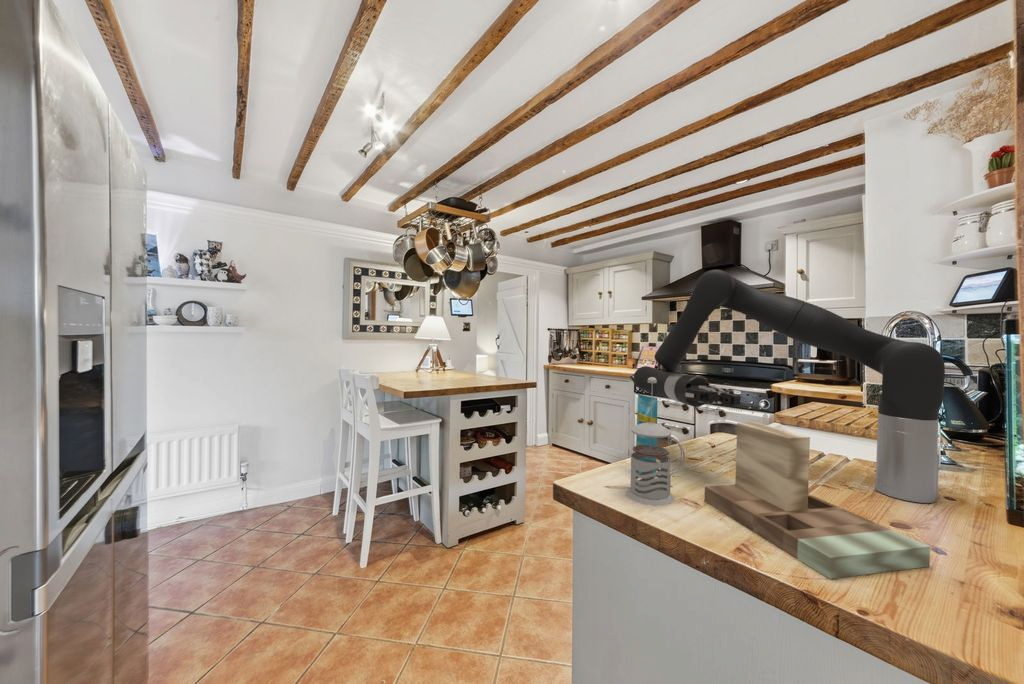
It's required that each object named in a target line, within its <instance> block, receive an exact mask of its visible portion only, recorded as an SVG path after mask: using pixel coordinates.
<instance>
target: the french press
mask: <svg viewBox="0 0 1024 684" xmlns="http://www.w3.org/2000/svg"><path fill="white" fill-rule="evenodd" d="M648 383H652V393H653V383H657V380H656V378H654V377H650V378H648ZM650 397H651V422H649V423H641V424H638V425H637V424H635V425H634V426H633V427H631V428H630V431H631V433H632V434H634V435H636V436H637V435H639V436H644V437H650V445H649V446H648V445H638V446H636V445H635V446H633V447H632V450H633V453H631V455H630V486H629V487H628V488H627V489H626V490H625V496H627V498H628V499H631V500H632V501H633V502H636V503H640V504H643V505H649V506H654V507H655V506H657V507H659V506H667V505H671V504H673V503H674V502H675V498H674V495H673V494H672V493H671V477H672V475H674V474H677V473H678V472H679V471H681V470H682V468H683V466H684V464H685V461H686V460H685V459H686V456H685V454H686V453H685V450H684V448H683V445H682V444H680V443H679V441H678V440H676V439H674V438H673V437H671V435H672V431H671V430H669V429H668V428H667V427H666V426H665V425H662V424H658V423H657V424H656V423H653V422H652V397H653V395H650ZM651 437H652V438H657V439H660V438H661V439H664V438H667V445H669V446H672V442H674V443H676V444H677V445H678V446H679V449H680V450H679V451H680V458H679V461H678V464H677V465H676V466H675V467H674V468H672V469H671V460H670V458H669V456H667V455H669V450H668V449H666V448H664V447H661V446H658V445H657V447H656V446H653V445H652V446H651ZM644 457H653V458H656V459H657V460H658V461H659V462H656V461H654V460H644V461H640V460H641V459H642V458H644ZM681 462H682V463H681ZM680 464H681V466H680ZM679 467H680V468H679ZM676 469H677V470H676ZM651 470H656V472H652V471H651ZM675 470H676V471H675ZM672 471H674V472H672ZM638 472H643V473H641V474H638ZM671 472H672V473H671ZM646 474H648V475H646ZM652 476H654V477H652ZM655 477H657V478H655Z"/></svg>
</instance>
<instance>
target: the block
mask: <svg viewBox="0 0 1024 684" xmlns="http://www.w3.org/2000/svg"><path fill="white" fill-rule="evenodd" d="M810 445H811V437H810V436H807V435H803V434H799V433H796V432H794V431H793V432H792V431H789V430H785V429H782V428H778V427H774V426H772V425H768V424H764V423H760V422H756V421H753V422H737V423H736V445H735V446H736V447H735V449H736V452H735V485H736V486H738V487H740V488H742V489H744V490H746V491H747V492H749V493H751V494H753V495H755V496H757V497H759V498H761V499H763V500H765V501H767V502H769V503H771V504H773V505H775V506H777V507H779V508H781V509H783V510H785V511H795V510H807V509H808V494H809V479H810V478H809V477H810V451H811V450H810Z"/></svg>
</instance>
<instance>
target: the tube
mask: <svg viewBox="0 0 1024 684" xmlns="http://www.w3.org/2000/svg"><path fill="white" fill-rule="evenodd" d="M636 413H637V414H636V425H638V424H641V423H649V422H651V396H649V395H644V394H640V393H637V412H636ZM652 422H653V423H656V424H658V397H654V396H652ZM635 441H636V443H635V446H638V445H648V446H649V445H650V437H644V436H639V435H636V440H635ZM657 443H658V438H652V437H651V446H652V445H653V446H656V447H658V444H657ZM644 460H654V461H656V462H657V460H658V459H656V458H653V457H644V458H642V459H641V460H640V461H644ZM651 471H652V472H657V471H656V470H651ZM641 473H643V472H638V474H641ZM646 475H648V474H646ZM652 478H655V476H652Z"/></svg>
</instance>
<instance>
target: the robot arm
mask: <svg viewBox="0 0 1024 684" xmlns="http://www.w3.org/2000/svg"><path fill="white" fill-rule="evenodd" d="M718 307H722V308H724V309H727V310H731V311H734V312H737V313H741V314H743V315H745V316H747V317H749V318H752V319H753V320H754V321H756V322H758V323H759V324H761V325H763V326H765V327H767V328H768V329H770V330H773V331H774V332H776V333H779V334H781V335H783V336H785V337H787V338H790V339H792V340H795V341H797V342H799V343H803V344H805V345H807V346H811V347H813V348H817V349H820V350H824V351H826V352H829V353H830V352H831V353H834V354H837V355H840V356H844V357H847V358H849V359H852V360H853V361H856V362H857V363H860V364H862V365H863V366H866V367H868V368H869V369H871V370H873V371H875V372H877V373H879V374H881V375H882V377H881V382H882V383H881V392H880V393H881V394H880V397H879V400H878V405H877V406H878V408H877V431H876V432H877V435H876V437H877V438H876V460H875V461H876V462H875V463H876V464H875V466H876V467H875V488H874V489H875V490H876V491H877V492H879V493H881V494H884V495H886V496H889V497H892V498H895V499H898V500H903V501H907V502H914V503H923V504H930V503H932V504H933V503H935V502H936V500H937V499H938V498H939V497H938V495H939V493H938V492H939V476H940V475H939V471H940V470H939V469H940V455H939V454H938V444H939V443H938V440H939V439H938V438H939V434H938V433H939V418H940V417H939V414H940V410H941V408H942V407H943V406H942V405H943V402H944V401H943V400H944V390H945V389H944V387H945V377H946V376H945V374H946V368H945V365H946V364H945V360H944V357H943V355H942V354H941V352H939V351H938V350H937V349H936V348H935V347H933V346H931V345H929V344H926V343H923V342H916V341H906V340H901V339H897V338H893V337H889V336H887V335H883V334H880V333H877V332H874V331H871V330H868V329H865V328H862V327H860V326H859V325H857V324H855V323H853V322H851V321H850V320H848V319H846V318H844V317H843V316H840V315H839V314H836V313H835V312H832V311H831V310H828V309H826V308H823V307H822V306H818V305H815V304H813V303H810V302H808V301H805V300H801V299H798V298H795V297H793V296H792V297H791V296H787V295H783V294H780V293H776V292H771V291H766V290H763V289H762V290H761V289H759V288H756V287H754V286H752V285H750V284H747V283H745V282H743V281H742V280H739V279H737V278H735V277H734V276H732V275H731V274H729V273H728V272H726V271H724V270H722V269H711V270H707V271H705V272H703V274H702V275H700V276H699V278H698V279H697V282H696V283H695V285H694V288H693V291H692V292H691V295H690V297H689V298H688V301H687V303H686V305H685V306H684V309H683V310H682V313H681V315H680V316H679V317H678V319H677V321H676V322H675V323H674V326H673V327H672V329H671V330H670V331H669V332H668V334H667V335H666V337H665V338H664V340H663V342H662V343H661V345H660V346H659V347H658V349H657V350H656V352H655V354H654V360H655V361H656V362H657V363H658V364H659V365H660V366H662V367H661V369H659V368H655V367H652V366H649V365H645V366H640V367H639V368H637V369H636V370H635V372H634V374H633V379H632V380H633V383H634V385H635V387H637V388H638V389H640V390H642V391H643V392H644V391H645V392H647V393H649V394H651V395H654V396H656V397H657V396H659V397H661V396H662V397H664V398H667V399H670V400H673V401H675V402H678V403H681V404H682V405H683V404H684V405H687V406H690V407H694V408H695V407H697V408H699V407H702V406H704V405H706V403H707V404H709V405H710V404H712V405H713V404H718V405H721V404H724V405H726V406H727V405H728V406H732V407H740V406H741V396H740V395H738V394H735V391H734V389H732V388H726V389H725V390H724V388H720V387H717V386H716V385H711V384H710V382H708V380H707V379H706V378H704V377H701V376H697V375H693V374H692V375H691V374H687V373H677V369H678V367H679V365H680V363H682V361H683V359H684V357H686V356H687V354H688V352H689V350H690V349H691V347H692V345H693V344H694V342H695V339H696V338H697V336H698V334H699V333H700V330H701V328H702V327H703V325H704V323H705V322H706V321H707V319H708V318H709V317H710V315H712V313H713V312H714V311H715V310H716V309H717V308H718ZM650 377H654V378H656V380H657V383H653V393H652V383H648V378H650Z"/></svg>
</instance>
